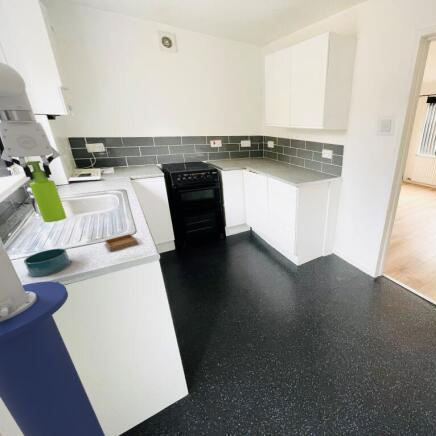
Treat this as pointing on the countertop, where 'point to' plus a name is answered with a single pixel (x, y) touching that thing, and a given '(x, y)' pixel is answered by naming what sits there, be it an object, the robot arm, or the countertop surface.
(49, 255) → the bowl
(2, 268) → the robot arm
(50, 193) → the soap dispenser
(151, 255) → the countertop surface
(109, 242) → the tray
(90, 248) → the countertop surface
